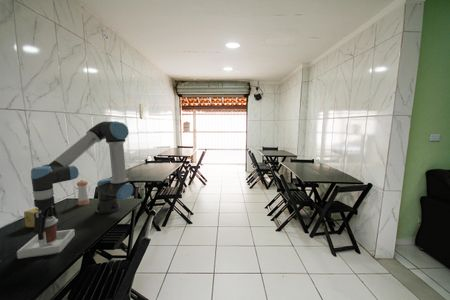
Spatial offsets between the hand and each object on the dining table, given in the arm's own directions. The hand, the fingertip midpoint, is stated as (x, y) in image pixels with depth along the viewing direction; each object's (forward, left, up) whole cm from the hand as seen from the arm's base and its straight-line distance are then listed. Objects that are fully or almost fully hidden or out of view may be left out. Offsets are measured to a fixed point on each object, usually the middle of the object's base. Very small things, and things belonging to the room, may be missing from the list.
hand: (48, 239), depth 103 cm
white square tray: (0, 0, -3) cm, 3 cm away
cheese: (+18, -29, -4) cm, 34 cm away
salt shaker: (+5, -60, -4) cm, 60 cm away
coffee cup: (0, 0, -1) cm, 1 cm away
